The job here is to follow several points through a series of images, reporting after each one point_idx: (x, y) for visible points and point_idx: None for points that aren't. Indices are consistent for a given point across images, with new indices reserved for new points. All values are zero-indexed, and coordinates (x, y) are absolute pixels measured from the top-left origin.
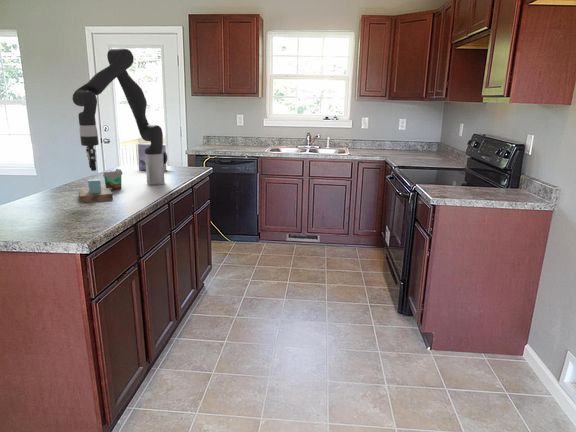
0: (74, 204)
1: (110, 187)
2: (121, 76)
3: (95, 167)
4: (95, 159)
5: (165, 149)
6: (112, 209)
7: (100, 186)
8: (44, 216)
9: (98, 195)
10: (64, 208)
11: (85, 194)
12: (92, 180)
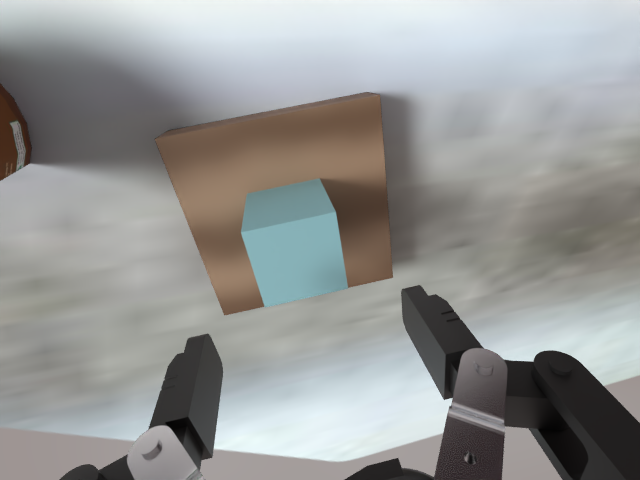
0: (408, 278)
1: (11, 134)
2: None
3: (433, 308)
4: (595, 382)
5: None
6: (609, 81)
7: (326, 194)
8: (556, 329)
9: (385, 187)
10: (467, 298)
11: (349, 261)
12: (320, 269)
